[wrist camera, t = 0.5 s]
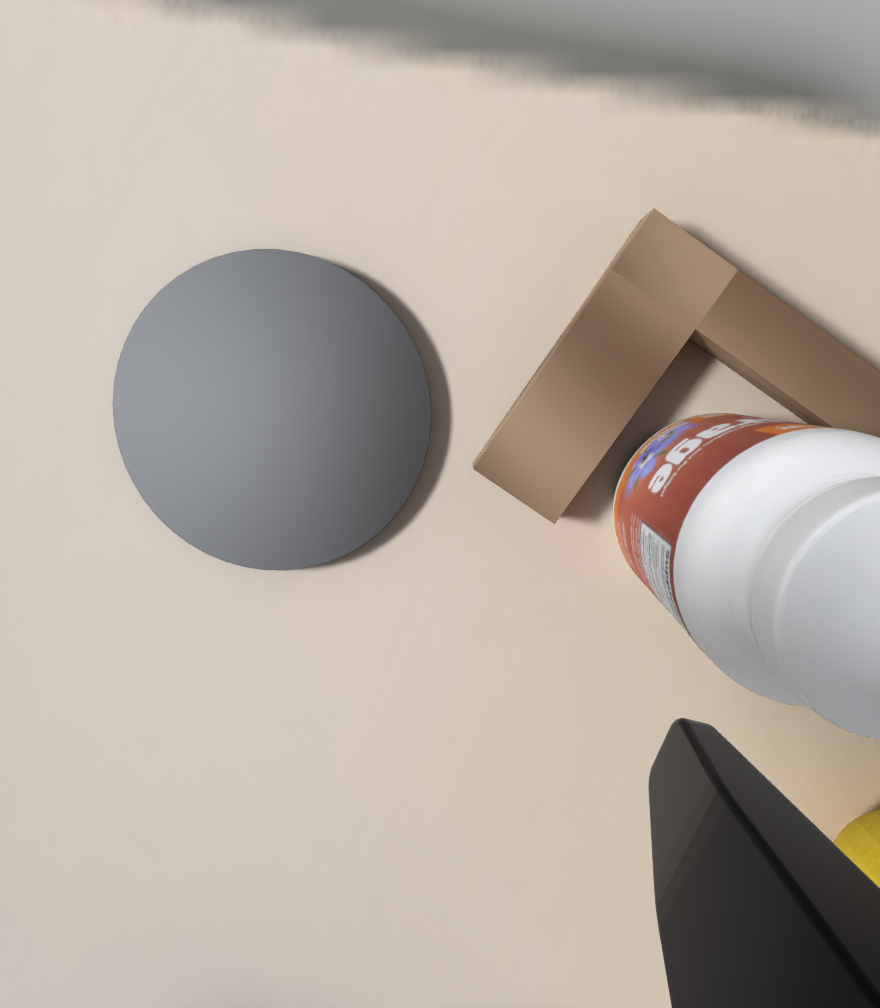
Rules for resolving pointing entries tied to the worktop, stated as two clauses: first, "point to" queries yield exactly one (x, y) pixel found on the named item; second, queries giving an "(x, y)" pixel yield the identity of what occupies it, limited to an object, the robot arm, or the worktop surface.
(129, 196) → the worktop surface
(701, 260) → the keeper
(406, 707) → the worktop surface
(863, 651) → the pill bottle
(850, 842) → the lemon
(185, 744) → the worktop surface
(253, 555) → the mat
